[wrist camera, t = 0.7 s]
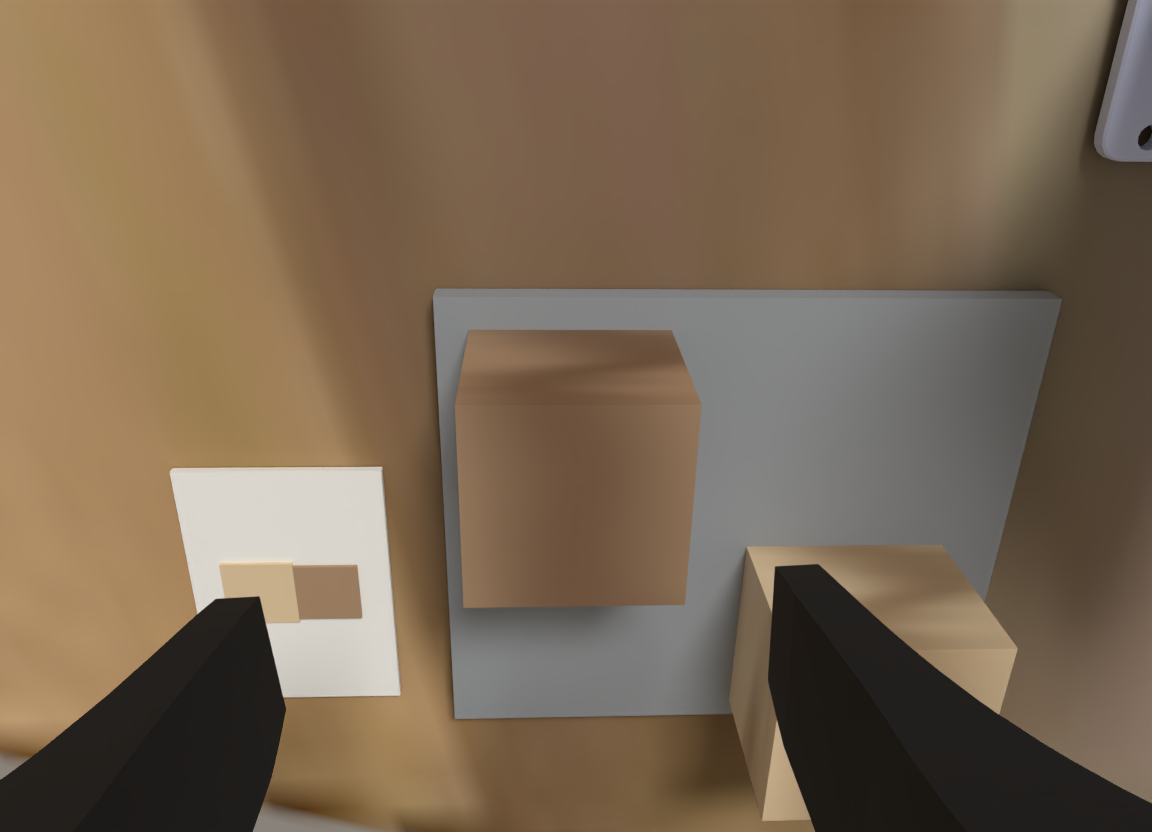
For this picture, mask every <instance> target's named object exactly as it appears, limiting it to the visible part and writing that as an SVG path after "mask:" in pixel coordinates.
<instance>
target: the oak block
mask: <svg viewBox="0 0 1152 832" xmlns="http://www.w3.org/2000/svg"><path fill="white" fill-rule="evenodd" d="M808 564H819V565H820V566H821V567H822V568H823V569H824V570H826V571H827V572H828V573H829V574H830V575H831V576H832V577H833V578H834V579H835V580H836V581H837V582H839V583H840V584H841V585H842V586H843V587H844V588H845V589H846V590H847V591H848V592H849V593H850V594H852V595H853V596H854V597H855V598H856V599H857V600H858V601H859V602H860V603H861V604H862V605H863V606H865V607H866V608H867V609H868V610H869V611H870V612H871V613H872V614H873V615H874V616H875V617H877V618H878V619H879V620H880V621H881V622H882V623H883V624H884V625H885V626H887V627H888V628H889V629H890V630H891V631H892V632H893V633H895V634H896V635H897V636H898V637H899V638H900V639H902V640H903V641H904V642H905V643H906V644H907V645H909V646H910V647H911V648H912V649H913V650H915V651H916V652H917V653H918V654H919V655H921V656H922V657H923V658H924V659H926V660H927V661H928V662H929V663H930V664H932V665H933V666H934V667H935V668H937V669H938V670H939V671H940V672H942V673H943V674H944V675H946V676H947V677H948V678H950V679H951V680H952V681H954V682H955V683H956V684H958V685H959V686H960V687H962V688H963V689H964V690H965V691H967V692H968V693H969V694H971V695H972V696H973V697H975V698H976V699H977V700H979V701H980V702H982V703H983V704H984V705H986V706H987V707H989V708H990V709H992V710H993V711H994V712H996V713H997V714H1000V710H1001V706H1002V703H1003V699H1004V696H1005V692H1006V689H1007V685H1008V682H1009V678H1010V675H1011V671H1012V667H1013V664H1014V660H1015V657H1016V653H1017V650H1018V648H1017V647H1016V645H1015V644H1014V643H1013V641H1012V640H1011V638H1010V637H1009V636H1008V634H1007V633H1006V632H1005V630H1004V629H1003V628H1002V626H1001V625H1000V623H999V622H998V621H997V619H996V618H995V617H994V615H993V614H992V612H991V611H990V610H989V608H988V607H987V606H986V604H985V603H984V601H983V600H982V599H981V597H980V596H979V595H978V593H977V592H976V591H975V589H974V588H973V586H972V585H971V584H970V582H969V581H968V580H967V578H966V577H965V575H964V574H963V573H962V571H961V570H960V569H959V567H958V566H957V565H956V563H955V562H954V560H953V559H952V558H951V556H950V555H949V554H948V552H947V551H946V549H945V548H944V547H943V545H855V546H751V547H747V548H746V556H745V565H744V574H743V582H742V591H741V600H740V608H739V617H738V626H737V634H736V643H735V652H734V660H733V669H732V678H731V686H730V695H729V702H730V706H731V710H732V713H733V717H734V720H735V724H736V728H737V731H738V735H739V739H740V742H741V746H742V750H743V753H744V757H745V761H746V764H747V768H748V772H749V775H750V779H751V783H752V786H753V790H754V793H755V797H756V801H757V804H758V808H759V812H760V815H761V819H762V821H782V820H811V818H810V816H809V813H808V811H807V808H806V805H805V803H804V800H803V797H802V795H801V792H800V789H799V787H798V784H797V781H796V779H795V776H794V773H793V771H792V768H791V765H790V762H789V760H788V757H787V754H786V751H785V749H784V746H783V742H782V738H781V734H780V730H779V726H778V722H777V718H776V714H775V710H774V705H773V701H772V697H771V692H770V688H769V684H768V668H769V652H770V636H771V621H772V605H773V589H774V573H775V566H790V565H808Z"/></svg>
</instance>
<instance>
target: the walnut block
mask: <svg viewBox="0 0 1152 832" xmlns="http://www.w3.org/2000/svg"><path fill="white" fill-rule="evenodd" d="M701 407H702V404H701V402H700V399H699V397H698V394H697V392H696V389H695V387H694V384H693V382H692V379H691V377H690V374H689V372H688V369H687V367H686V364H685V362H684V360H683V357H682V355H681V352H680V350H679V347H678V345H677V342H676V340H675V337H674V335H673V332H672V330H469V331H468V337H467V342H466V348H465V353H464V358H463V364H462V369H461V375H460V380H459V385H458V391H457V396H456V402H455V421H456V444H457V467H458V490H459V513H460V536H461V558H462V581H463V604H464V608H493V607H573V606H653V605H685V599H686V587H687V575H688V563H689V551H690V539H691V527H692V515H693V503H694V491H695V479H696V467H697V455H698V443H699V431H700V419H701Z"/></svg>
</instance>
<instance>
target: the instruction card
mask: <svg viewBox="0 0 1152 832" xmlns="http://www.w3.org/2000/svg"><path fill="white" fill-rule="evenodd" d="M170 476H171V481H172V487H173V492H174V497H175V502H176V507H177V512H178V517H179V522H180V527H181V532H182V537H183V542H184V547H185V552H186V557H187V562H188V568H189V573H190V578H191V583H192V588H193V593H194V598H195V603H196V608H197V613H200V612H201V611H202V610H203V609H204V608H205V607H206V606H208V605H209V604H210V603H211V602H213V601H214V600H215V599H221V598H238V597H256V596H260V600H261V604H262V609H263V613H264V617H265V622H266V626H267V630H268V634H269V639H270V643H271V647H272V652H273V656H274V660H275V664H276V669H277V673H278V677H279V681H280V686H281V690H282V694H283V697H338V696H397V695H400V694H401V683H400V671H399V659H398V647H397V635H396V623H395V611H394V599H393V587H392V575H391V563H390V551H389V539H388V527H387V515H386V503H385V491H384V479H383V468H382V467H276V468H172V470H171V471H170Z"/></svg>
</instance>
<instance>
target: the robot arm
mask: <svg viewBox="0 0 1152 832" xmlns="http://www.w3.org/2000/svg"><path fill="white" fill-rule="evenodd" d="M1149 125H1150V126H1151V128H1152V0H1128V3H1127V7H1126V11H1125V15H1124V19H1123V23H1122V27H1121V31H1120V35H1119V39H1118V43H1117V47H1116V51H1115V55H1114V59H1113V63H1112V67H1111V71H1110V75H1109V79H1108V83H1107V87H1106V91H1105V95H1104V99H1103V103H1102V107H1101V111H1100V115H1099V119H1098V123H1097V127H1096V131H1095V136H1094V145H1095V148H1096V151H1097V152H1098V153H1099V154H1100V155H1101V156H1102V157H1104V158H1107V159H1111V160H1115V161H1119V162H1152V135H1151V137H1150V139H1149V141H1148V142H1147V143H1146V144H1144V145H1143V146H1141V147H1140V146H1139V145H1138V137H1139V135H1140V133H1141V131H1142V130H1143V129H1144V128H1146V127H1147V126H1149ZM768 684H769V688H770V692H771V697H772V701H773V705H774V710H775V714H776V718H777V722H778V726H779V730H780V734H781V738H782V742H783V746H784V749H785V751H786V754H787V757H788V760H789V762H790V765H791V768H792V771H793V773H794V776H795V779H796V781H797V784H798V787H799V789H800V792H801V795H802V797H803V800H804V803H805V805H806V808H807V811H808V813H809V816H810V818H811V821H812V824H813V826H814V829H815V832H1152V804H1151V803H1149V802H1147V801H1146V800H1144V799H1142V798H1140V797H1138V796H1136V795H1134V794H1132V793H1130V792H1128V791H1126V790H1124V789H1122V788H1120V787H1118V786H1117V785H1115V784H1113V783H1111V782H1109V781H1108V780H1106V779H1104V778H1102V777H1100V776H1099V775H1097V774H1095V773H1093V772H1091V771H1090V770H1088V769H1086V768H1084V767H1082V766H1081V765H1079V764H1077V763H1075V762H1073V761H1072V760H1070V759H1068V758H1067V757H1065V756H1063V755H1062V754H1060V753H1058V752H1057V751H1055V750H1053V749H1051V748H1050V747H1048V746H1047V745H1045V744H1043V743H1042V742H1040V741H1039V740H1037V739H1036V738H1034V737H1033V736H1031V735H1029V734H1028V733H1026V732H1025V731H1023V730H1022V729H1020V728H1019V727H1017V726H1016V725H1014V724H1013V723H1011V722H1009V721H1008V720H1006V719H1005V718H1003V717H1002V716H1000V715H999V714H997V713H996V712H994V711H993V710H992V709H990V708H989V707H987V706H986V705H984V704H983V703H982V702H980V701H979V700H977V699H976V698H975V697H973V696H972V695H971V694H969V693H968V692H967V691H965V690H964V689H963V688H962V687H960V686H959V685H958V684H956V683H955V682H954V681H952V680H951V679H950V678H948V677H947V676H946V675H944V674H943V673H942V672H940V671H939V670H938V669H937V668H935V667H934V666H933V665H932V664H930V663H929V662H928V661H927V660H926V659H924V658H923V657H922V656H921V655H919V654H918V653H917V652H916V651H915V650H913V649H912V648H911V647H910V646H909V645H907V644H906V643H905V642H904V641H903V640H902V639H900V638H899V637H898V636H897V635H896V634H895V633H893V632H892V631H891V630H890V629H889V628H888V627H887V626H885V625H884V624H883V623H882V622H881V621H880V620H879V619H878V618H877V617H875V616H874V615H873V614H872V613H871V612H870V611H869V610H868V609H867V608H866V607H865V606H863V605H862V604H861V603H860V602H859V601H858V600H857V599H856V598H855V597H854V596H853V595H852V594H850V593H849V592H848V591H847V590H846V589H845V588H844V587H843V586H842V585H841V584H840V583H839V582H837V581H836V580H835V579H834V578H833V577H832V576H831V575H830V574H829V573H828V572H827V571H826V570H824V569H823V568H822V567H821V566H820V565H819V564H808V565H790V566H775V573H774V589H773V605H772V621H771V636H770V652H769V668H768ZM285 712H286V707H285V703H284V699H283V694H282V690H281V686H280V681H279V677H278V673H277V669H276V664H275V660H274V656H273V652H272V647H271V643H270V639H269V634H268V630H267V626H266V622H265V617H264V613H263V609H262V604H261V600H260V596H256V597H238V598H221V599H215V600H214V601H213V602H211V603H210V604H209V605H208V606H206V607H205V608H204V609H203V610H202V611H201V612H200V613H198V614H197V615H196V616H195V617H194V618H193V619H192V620H191V621H189V622H188V623H187V624H186V625H185V626H184V627H183V628H182V629H181V630H180V631H179V632H177V633H176V634H175V635H174V636H173V637H172V638H171V639H170V640H169V641H168V642H167V643H165V644H164V645H163V646H162V647H161V648H160V649H159V650H158V651H157V652H156V653H154V654H153V655H152V656H151V657H150V658H149V659H148V660H147V661H146V662H144V663H143V664H142V665H141V666H140V667H139V668H138V669H137V670H135V671H134V672H133V673H132V674H131V675H130V676H129V677H128V678H126V679H125V680H124V681H123V682H122V683H121V684H120V685H119V686H118V687H116V688H115V689H114V690H113V691H112V692H111V693H110V694H108V695H107V696H106V697H105V698H104V699H103V700H101V701H100V702H99V703H98V704H96V705H95V706H94V707H93V708H92V709H90V710H89V711H88V712H87V713H85V714H84V715H83V716H82V717H81V718H79V719H78V720H77V721H76V722H75V723H73V724H72V725H71V726H70V727H68V728H67V729H66V730H65V731H64V732H62V733H61V734H60V735H59V736H57V737H56V738H55V739H54V740H53V741H51V742H50V743H49V744H48V745H47V746H45V747H44V748H43V749H41V750H40V751H39V752H38V753H36V754H35V755H34V756H32V757H31V758H30V759H28V760H27V761H26V762H24V763H23V764H22V765H20V766H19V767H18V768H16V769H15V770H14V771H12V772H11V773H10V774H8V775H7V776H6V777H4V778H3V779H1V780H0V832H253V829H254V826H255V823H256V820H257V818H258V815H259V812H260V809H261V806H262V803H263V801H264V798H265V795H266V792H267V789H268V786H269V783H270V780H271V777H272V773H273V768H274V764H275V760H276V755H277V751H278V746H279V742H280V737H281V732H282V727H283V722H284V717H285Z"/></svg>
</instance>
